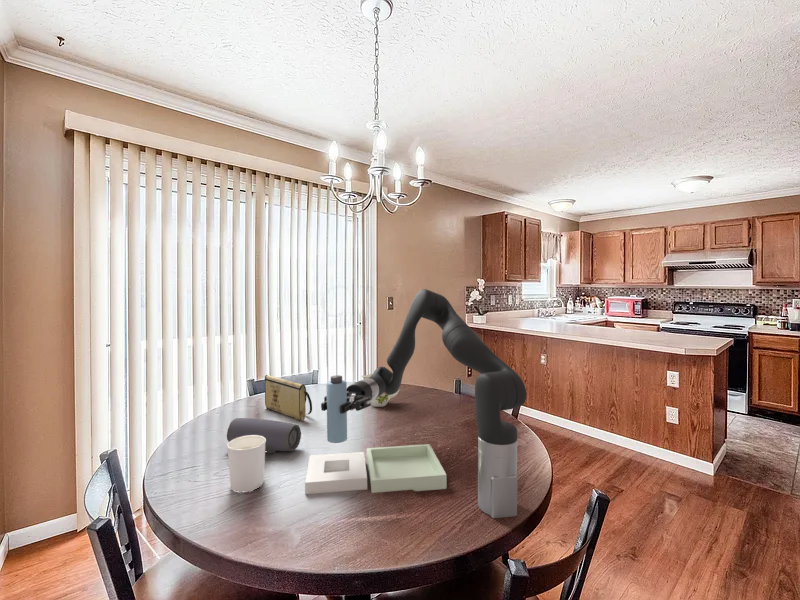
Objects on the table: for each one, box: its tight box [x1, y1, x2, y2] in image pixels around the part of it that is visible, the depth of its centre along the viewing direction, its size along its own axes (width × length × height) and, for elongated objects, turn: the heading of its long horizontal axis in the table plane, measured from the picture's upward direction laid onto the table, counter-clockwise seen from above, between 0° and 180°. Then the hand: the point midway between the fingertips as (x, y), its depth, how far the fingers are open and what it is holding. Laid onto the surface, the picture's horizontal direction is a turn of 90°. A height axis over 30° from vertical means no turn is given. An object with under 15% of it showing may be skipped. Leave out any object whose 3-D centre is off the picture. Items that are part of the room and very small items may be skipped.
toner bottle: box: [326, 375, 348, 444], centre depth 107 cm, size 6×6×18 cm
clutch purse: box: [264, 374, 313, 422], centre depth 163 cm, size 30×7×15 cm, turn 50°
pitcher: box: [361, 373, 400, 408], centre depth 175 cm, size 11×18×14 cm, turn 111°
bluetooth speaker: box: [226, 417, 302, 453], centre depth 127 cm, size 23×9×10 cm, turn 74°
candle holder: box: [226, 435, 266, 492], centre depth 104 cm, size 10×10×12 cm
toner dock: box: [304, 451, 368, 495], centre depth 108 cm, size 16×16×4 cm
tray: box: [366, 443, 447, 494], centre depth 111 cm, size 20×20×4 cm
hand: (331, 408), depth 105 cm, fingers closed on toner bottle, 5 cm apart
